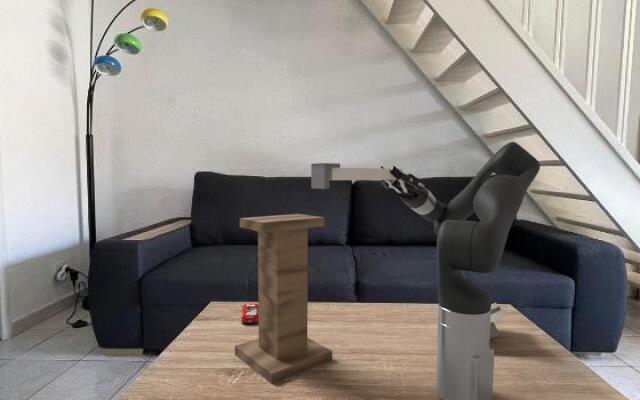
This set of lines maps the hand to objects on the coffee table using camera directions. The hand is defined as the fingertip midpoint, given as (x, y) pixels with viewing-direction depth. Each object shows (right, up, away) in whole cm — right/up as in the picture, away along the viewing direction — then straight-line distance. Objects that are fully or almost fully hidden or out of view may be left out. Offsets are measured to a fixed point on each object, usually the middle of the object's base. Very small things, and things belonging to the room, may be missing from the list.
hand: (385, 169), depth 107 cm
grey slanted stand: (+21, -44, -8) cm, 50 cm away
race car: (-39, -43, +6) cm, 58 cm away
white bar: (-7, -5, -6) cm, 11 cm away
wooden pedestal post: (-27, -44, -19) cm, 55 cm away
